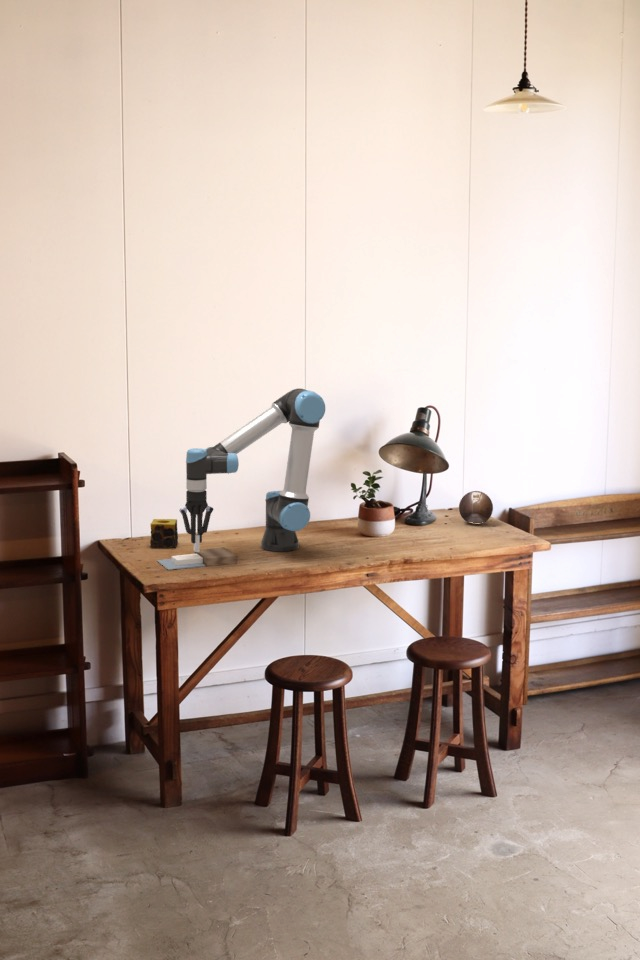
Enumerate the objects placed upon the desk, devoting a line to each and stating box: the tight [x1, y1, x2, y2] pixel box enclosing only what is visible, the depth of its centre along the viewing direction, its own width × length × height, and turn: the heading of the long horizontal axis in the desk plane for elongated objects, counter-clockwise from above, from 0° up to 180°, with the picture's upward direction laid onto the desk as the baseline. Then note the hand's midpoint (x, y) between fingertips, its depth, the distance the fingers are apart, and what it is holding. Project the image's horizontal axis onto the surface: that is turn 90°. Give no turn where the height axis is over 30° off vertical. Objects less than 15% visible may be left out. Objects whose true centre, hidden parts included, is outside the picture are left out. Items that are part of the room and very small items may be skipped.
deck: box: [194, 547, 238, 567], centre depth 405 cm, size 12×14×3 cm
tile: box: [171, 553, 203, 566], centre depth 400 cm, size 10×7×2 cm
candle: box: [149, 518, 179, 549], centre depth 426 cm, size 10×10×10 cm
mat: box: [156, 558, 206, 571], centre depth 399 cm, size 14×14×1 cm
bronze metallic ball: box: [458, 490, 494, 524], centre depth 473 cm, size 15×15×15 cm
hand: (196, 551), depth 401 cm, fingers closed
